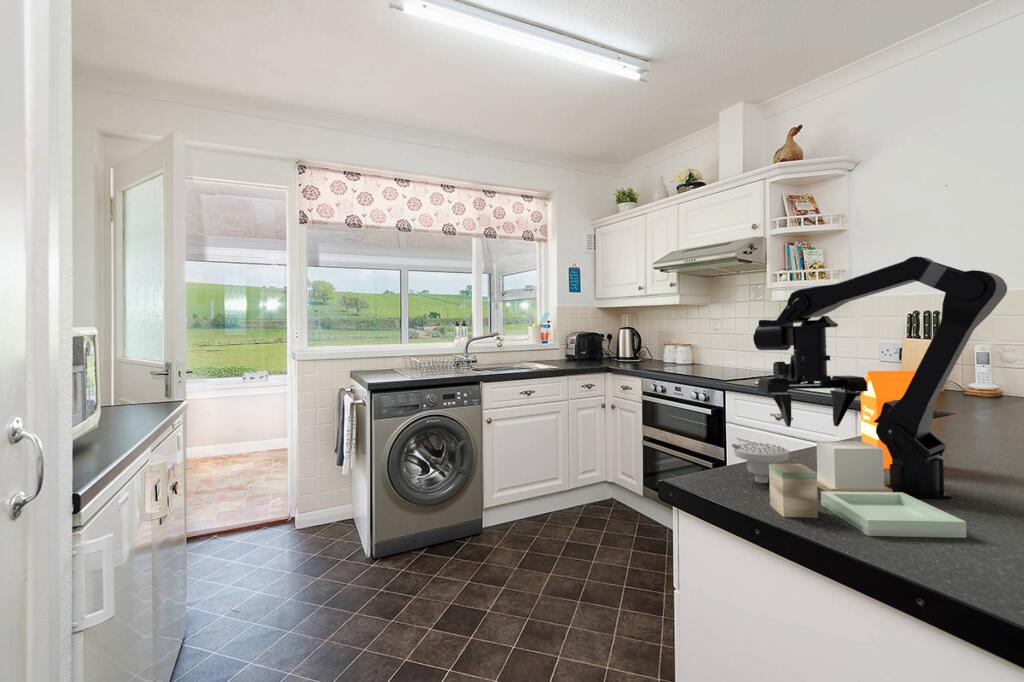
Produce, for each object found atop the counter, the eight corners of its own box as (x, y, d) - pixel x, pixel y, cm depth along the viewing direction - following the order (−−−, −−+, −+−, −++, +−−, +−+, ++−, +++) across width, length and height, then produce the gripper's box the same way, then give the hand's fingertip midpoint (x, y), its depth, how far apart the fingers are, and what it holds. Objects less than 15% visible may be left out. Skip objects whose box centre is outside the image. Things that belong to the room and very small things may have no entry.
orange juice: (929, 470, 95) (926, 372, 95) (877, 468, 98) (875, 372, 98) (908, 460, 103) (906, 369, 103) (861, 458, 105) (859, 369, 105)
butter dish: (860, 479, 91) (859, 438, 91) (892, 495, 82) (891, 449, 82) (805, 479, 92) (804, 438, 92) (830, 494, 83) (829, 449, 83)
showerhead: (725, 438, 97) (778, 439, 95) (726, 473, 97) (779, 475, 95) (737, 449, 88) (796, 450, 86) (738, 487, 88) (797, 489, 86)
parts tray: (902, 505, 77) (902, 492, 77) (966, 537, 64) (966, 521, 64) (821, 504, 78) (820, 491, 78) (868, 535, 66) (867, 520, 66)
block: (802, 506, 78) (801, 464, 78) (818, 517, 73) (816, 472, 73) (769, 505, 78) (768, 463, 78) (783, 517, 73) (782, 472, 73)
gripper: (836, 348, 104) (838, 419, 104) (747, 350, 106) (749, 420, 106) (868, 349, 93) (870, 428, 92) (767, 352, 95) (770, 429, 95)
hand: (812, 426), depth 97 cm, fingers open, 9 cm apart
